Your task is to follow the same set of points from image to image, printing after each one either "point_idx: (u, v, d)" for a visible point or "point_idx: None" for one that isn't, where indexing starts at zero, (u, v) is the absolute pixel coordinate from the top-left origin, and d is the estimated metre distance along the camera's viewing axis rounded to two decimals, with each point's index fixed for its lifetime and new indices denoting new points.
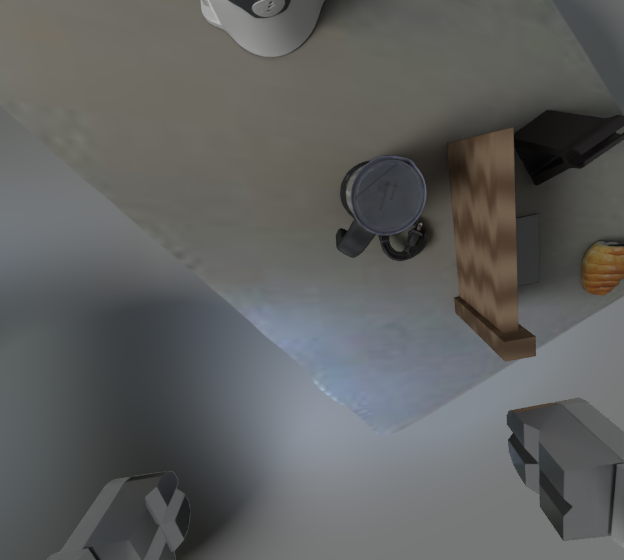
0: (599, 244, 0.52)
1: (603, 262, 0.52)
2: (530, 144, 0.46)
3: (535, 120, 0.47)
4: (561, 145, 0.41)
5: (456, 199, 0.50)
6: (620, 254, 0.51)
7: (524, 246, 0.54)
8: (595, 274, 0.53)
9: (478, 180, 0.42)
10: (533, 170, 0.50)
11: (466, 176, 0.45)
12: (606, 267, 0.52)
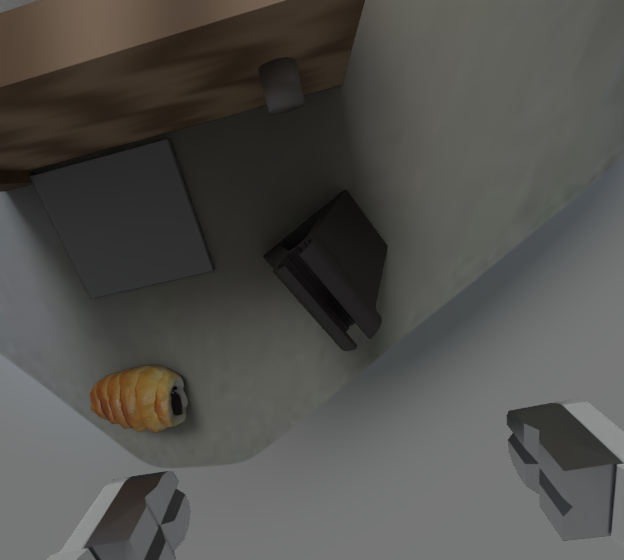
0: (173, 379, 0.31)
1: (139, 392, 0.30)
2: (330, 207, 0.23)
3: (372, 227, 0.26)
4: (324, 237, 0.19)
5: None
6: (156, 412, 0.30)
7: (151, 257, 0.28)
8: (119, 387, 0.30)
9: None
10: (288, 244, 0.27)
11: None
12: (131, 398, 0.30)
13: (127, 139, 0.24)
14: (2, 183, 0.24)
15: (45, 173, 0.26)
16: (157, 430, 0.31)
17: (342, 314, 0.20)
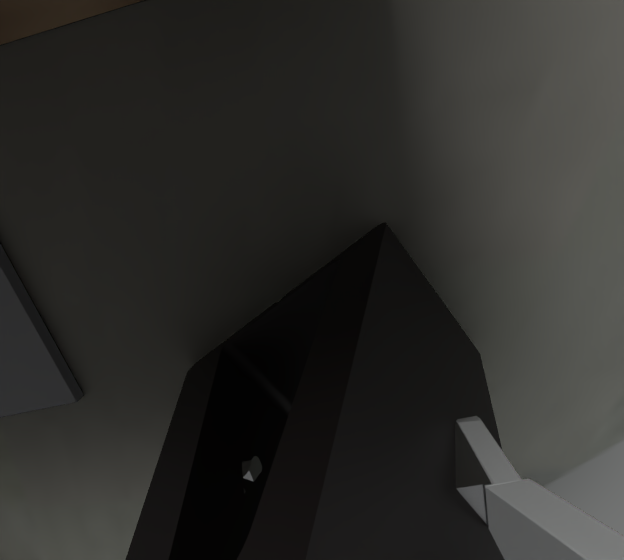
0: None
1: None
2: (355, 293, 0.07)
3: (448, 315, 0.11)
4: None
5: None
6: None
7: None
8: None
9: None
10: (244, 347, 0.12)
11: None
12: None
13: None
14: None
15: None
16: None
17: None
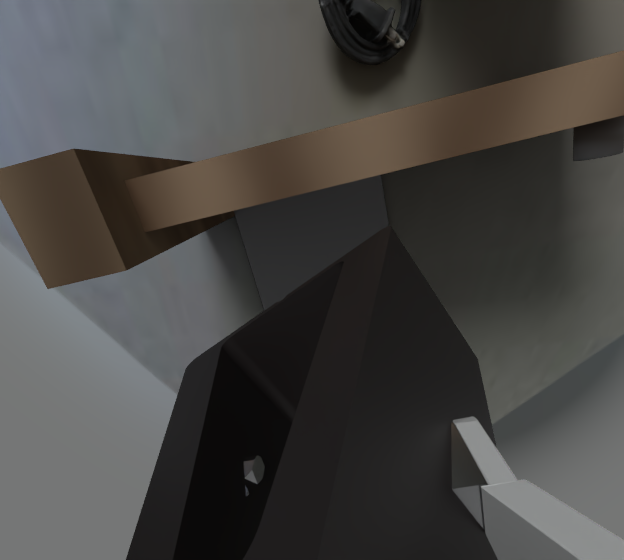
0: None
1: None
2: (361, 295, 0.07)
3: (449, 320, 0.11)
4: None
5: None
6: None
7: None
8: None
9: None
10: (245, 345, 0.12)
11: None
12: None
13: None
14: (225, 219, 0.23)
15: None
16: None
17: None
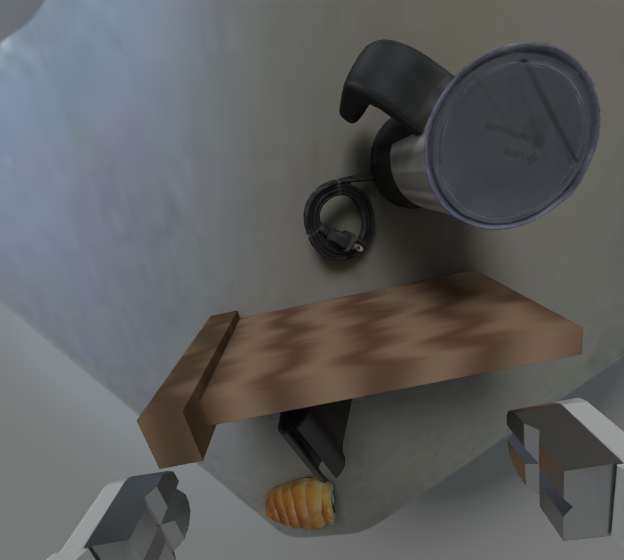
0: (330, 488, 0.41)
1: (309, 503, 0.40)
2: None
3: None
4: None
5: (400, 292, 0.33)
6: (323, 516, 0.40)
7: None
8: (292, 500, 0.40)
9: (464, 315, 0.25)
10: None
11: (452, 298, 0.29)
12: (305, 508, 0.40)
13: None
14: None
15: None
16: (322, 528, 0.41)
17: None
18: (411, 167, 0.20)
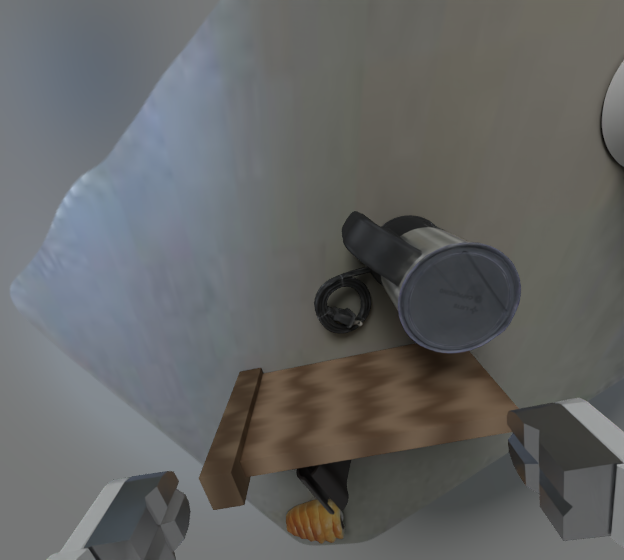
0: (339, 509, 0.49)
1: (322, 521, 0.48)
2: None
3: None
4: None
5: (393, 356, 0.40)
6: (334, 532, 0.48)
7: None
8: (308, 519, 0.49)
9: (439, 389, 0.33)
10: None
11: (433, 369, 0.36)
12: (318, 526, 0.48)
13: None
14: None
15: None
16: (333, 541, 0.49)
17: None
18: (393, 299, 0.27)
